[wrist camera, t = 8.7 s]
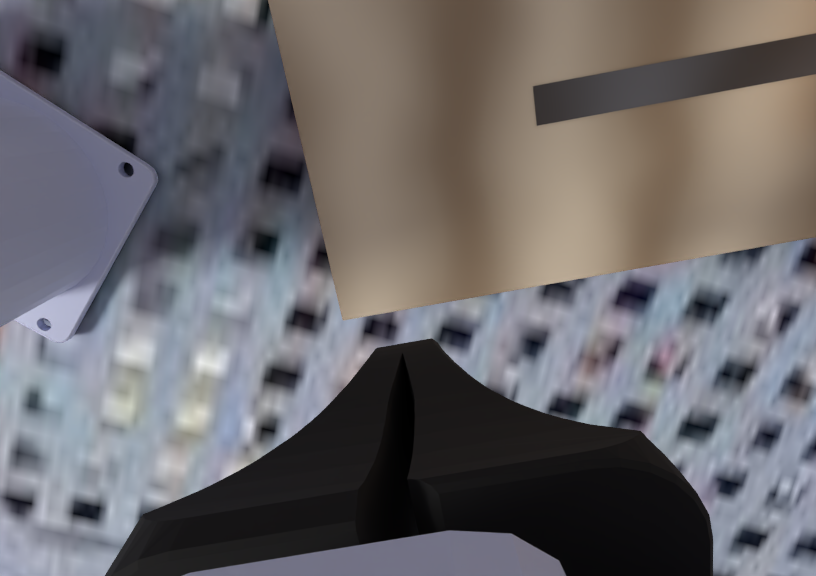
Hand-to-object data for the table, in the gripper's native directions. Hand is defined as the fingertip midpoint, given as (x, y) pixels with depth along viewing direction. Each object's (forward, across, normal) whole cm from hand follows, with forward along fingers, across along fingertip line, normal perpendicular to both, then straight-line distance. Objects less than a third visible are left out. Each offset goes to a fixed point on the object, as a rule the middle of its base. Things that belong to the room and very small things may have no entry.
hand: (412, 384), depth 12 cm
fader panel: (+9, -9, -5) cm, 14 cm away
